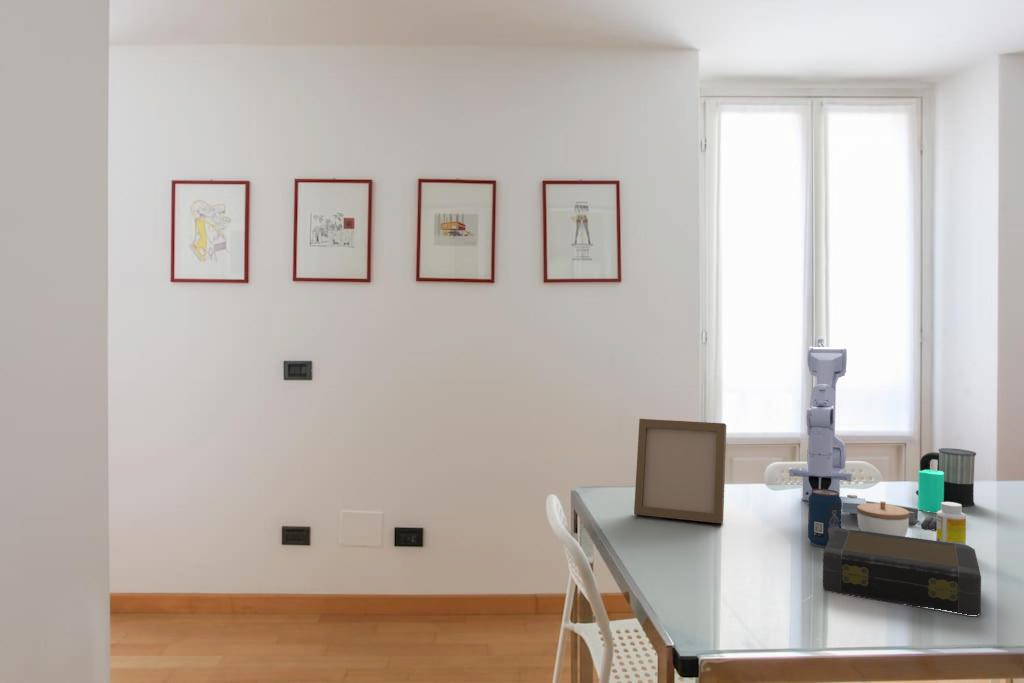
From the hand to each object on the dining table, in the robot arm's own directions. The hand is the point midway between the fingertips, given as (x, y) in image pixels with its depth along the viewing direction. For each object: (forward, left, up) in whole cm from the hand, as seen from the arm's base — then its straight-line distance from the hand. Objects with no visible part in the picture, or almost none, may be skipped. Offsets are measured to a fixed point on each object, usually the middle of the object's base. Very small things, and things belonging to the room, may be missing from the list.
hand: (819, 506), depth 181 cm
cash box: (+25, -39, -4) cm, 46 cm away
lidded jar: (+16, -10, -4) cm, 20 cm away
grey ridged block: (+24, +14, -2) cm, 28 cm away
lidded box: (+6, +7, 0) cm, 10 cm away
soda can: (+6, -20, -4) cm, 21 cm away
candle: (+20, +31, -4) cm, 37 cm away
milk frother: (+22, +42, -4) cm, 48 cm away
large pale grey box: (+12, +14, -4) cm, 19 cm away
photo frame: (-30, -18, -4) cm, 35 cm away
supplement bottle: (+29, -6, -4) cm, 30 cm away
